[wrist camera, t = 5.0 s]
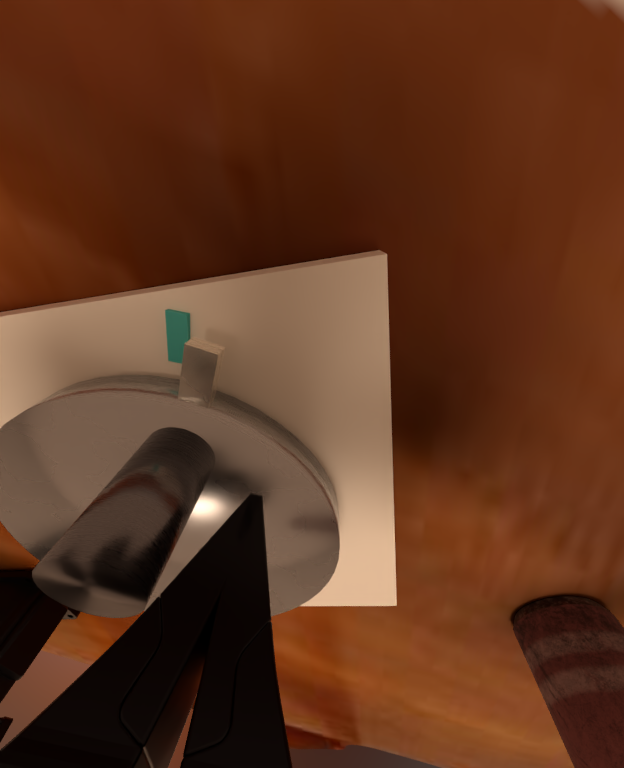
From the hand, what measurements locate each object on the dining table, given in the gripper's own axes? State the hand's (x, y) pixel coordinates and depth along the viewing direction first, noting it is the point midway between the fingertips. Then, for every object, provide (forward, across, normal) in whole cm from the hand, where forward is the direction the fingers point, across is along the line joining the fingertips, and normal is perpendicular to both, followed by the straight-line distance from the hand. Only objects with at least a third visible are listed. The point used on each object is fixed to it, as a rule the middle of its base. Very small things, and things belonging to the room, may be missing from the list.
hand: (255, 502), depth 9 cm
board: (+4, +4, +5) cm, 8 cm away
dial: (+3, +4, +4) cm, 6 cm away
